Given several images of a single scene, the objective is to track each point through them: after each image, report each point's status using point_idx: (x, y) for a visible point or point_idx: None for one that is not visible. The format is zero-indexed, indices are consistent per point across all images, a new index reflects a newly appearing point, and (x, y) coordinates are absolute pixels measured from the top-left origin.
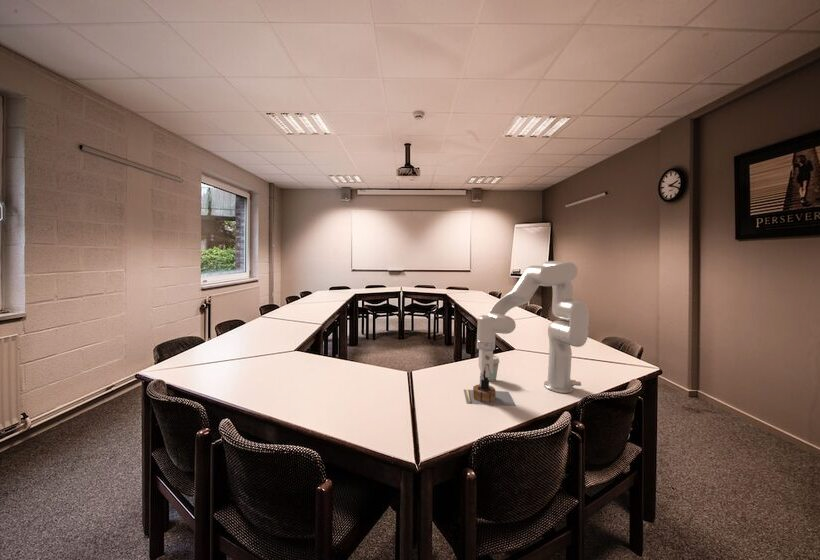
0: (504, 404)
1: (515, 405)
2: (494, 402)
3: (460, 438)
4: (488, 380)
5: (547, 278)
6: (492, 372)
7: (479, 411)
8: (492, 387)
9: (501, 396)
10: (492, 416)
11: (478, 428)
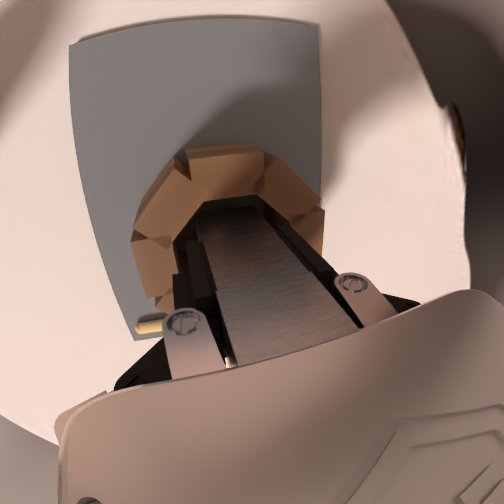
0: (305, 90)
1: (309, 27)
2: (286, 153)
3: (458, 276)
4: (331, 273)
5: None
6: (495, 305)
7: (365, 239)
8: (187, 178)
9: (171, 90)
10: (402, 184)
11: (445, 239)
